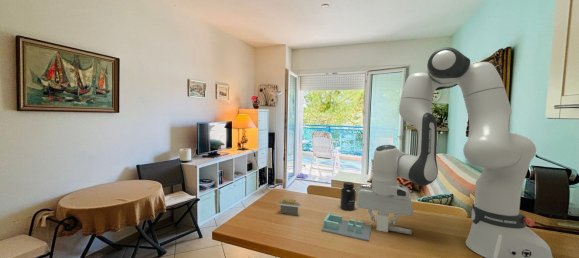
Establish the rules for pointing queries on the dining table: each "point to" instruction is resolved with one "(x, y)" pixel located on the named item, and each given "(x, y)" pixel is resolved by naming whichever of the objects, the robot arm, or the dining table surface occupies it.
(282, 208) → the potted plant
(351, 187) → the supplement bottle
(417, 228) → the dining table surface
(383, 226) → the cable plug
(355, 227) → the board
